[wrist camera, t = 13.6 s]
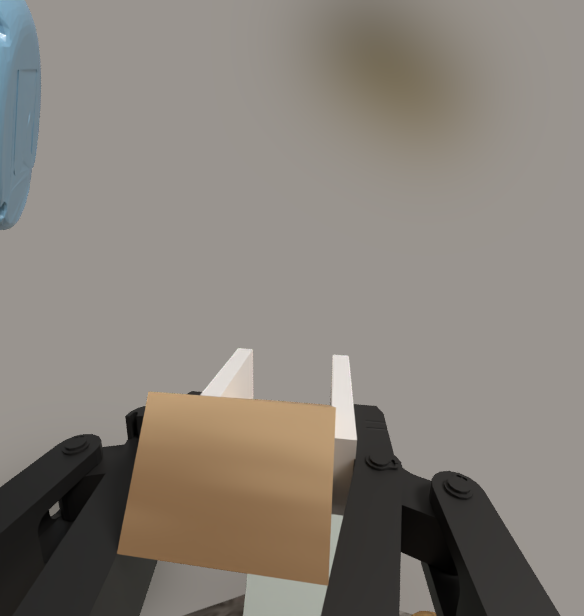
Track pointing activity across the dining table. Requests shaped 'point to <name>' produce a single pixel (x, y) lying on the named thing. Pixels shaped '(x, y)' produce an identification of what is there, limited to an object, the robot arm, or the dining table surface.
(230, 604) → the dining table surface
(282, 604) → the box
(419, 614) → the potato
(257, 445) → the oak slat
